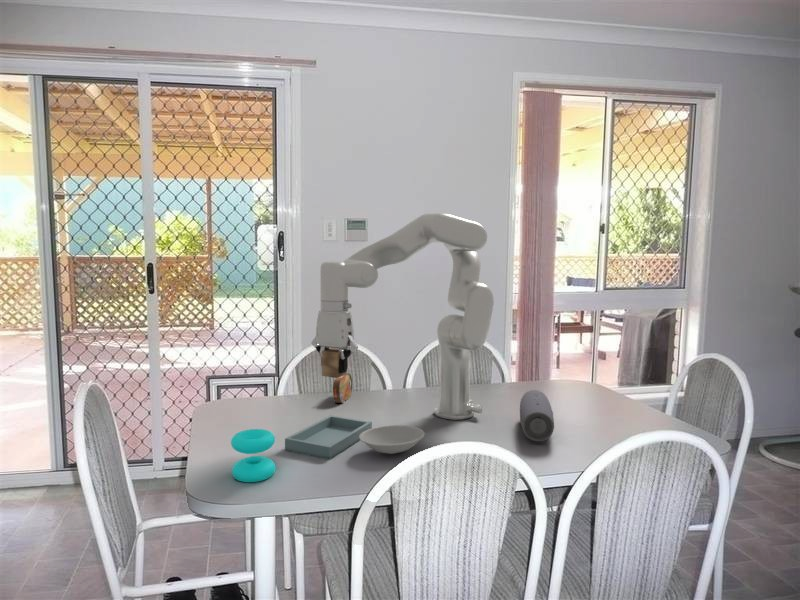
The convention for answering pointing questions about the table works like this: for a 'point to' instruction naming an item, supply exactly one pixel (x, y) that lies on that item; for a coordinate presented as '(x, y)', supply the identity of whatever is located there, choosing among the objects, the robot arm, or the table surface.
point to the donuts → (254, 465)
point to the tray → (327, 437)
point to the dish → (391, 438)
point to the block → (331, 363)
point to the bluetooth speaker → (536, 416)
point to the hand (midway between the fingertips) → (334, 370)
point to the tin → (342, 388)
